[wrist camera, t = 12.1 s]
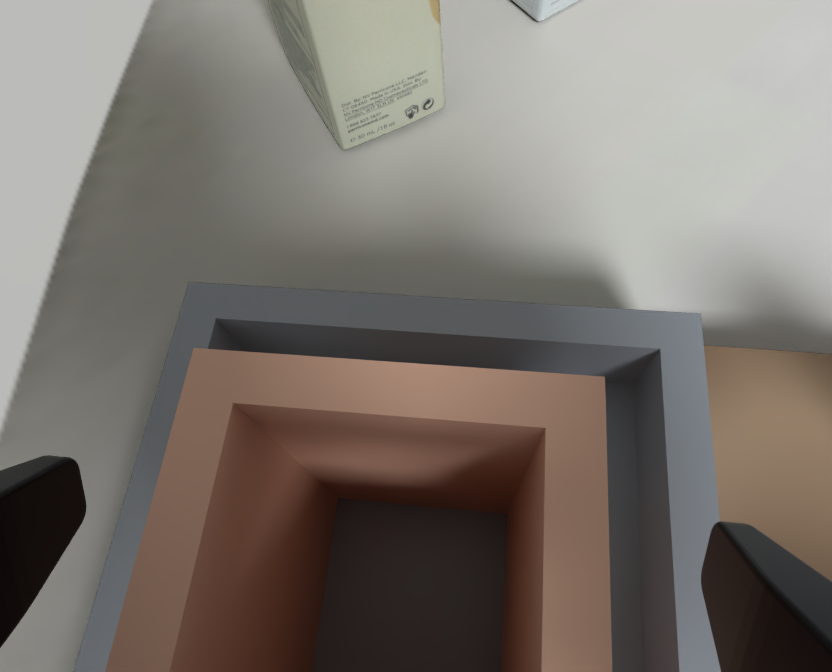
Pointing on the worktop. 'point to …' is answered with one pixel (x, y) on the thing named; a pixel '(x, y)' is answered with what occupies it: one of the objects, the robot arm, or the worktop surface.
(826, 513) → the walnut base
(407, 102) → the skincare box
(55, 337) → the worktop surface
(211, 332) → the charcoal tray
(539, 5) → the supplement box
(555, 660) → the terracotta collar
